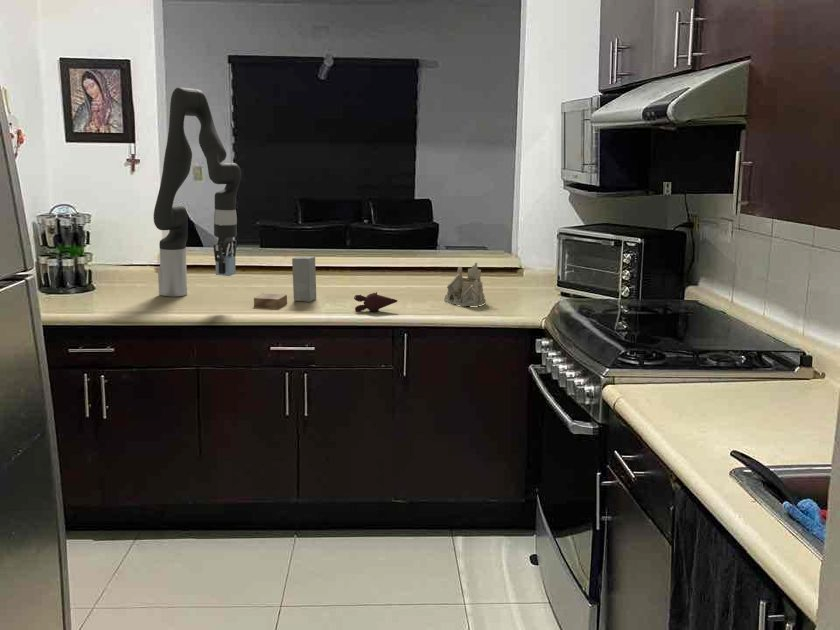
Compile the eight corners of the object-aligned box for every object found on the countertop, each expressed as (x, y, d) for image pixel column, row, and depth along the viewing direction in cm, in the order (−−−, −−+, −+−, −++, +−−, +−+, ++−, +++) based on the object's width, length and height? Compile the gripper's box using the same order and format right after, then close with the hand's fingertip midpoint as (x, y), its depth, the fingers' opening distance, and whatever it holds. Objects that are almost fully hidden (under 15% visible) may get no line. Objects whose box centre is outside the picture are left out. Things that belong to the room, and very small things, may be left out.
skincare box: (310, 302, 313) (310, 259, 310) (291, 301, 315) (291, 257, 311) (317, 298, 321) (317, 255, 318) (299, 297, 323) (298, 254, 319)
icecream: (397, 291, 305) (354, 294, 305) (396, 289, 297) (352, 292, 297) (398, 311, 304) (355, 313, 304) (398, 310, 297) (354, 313, 297)
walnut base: (254, 307, 304) (253, 297, 303) (262, 302, 312) (262, 293, 312) (278, 309, 302) (278, 299, 301) (286, 304, 311) (286, 294, 310)
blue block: (215, 274, 296) (215, 257, 294) (221, 272, 300) (221, 255, 299) (229, 276, 295) (229, 258, 293) (235, 273, 299) (235, 256, 298)
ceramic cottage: (448, 296, 330) (450, 258, 326) (490, 302, 326) (493, 263, 321) (436, 306, 316) (438, 266, 312) (479, 312, 311) (482, 271, 307)
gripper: (223, 219, 301) (224, 268, 305) (205, 224, 287) (206, 274, 291) (244, 221, 300) (244, 269, 303) (226, 225, 286) (226, 276, 290)
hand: (225, 272), depth 297 cm, fingers closed on blue block, 5 cm apart
